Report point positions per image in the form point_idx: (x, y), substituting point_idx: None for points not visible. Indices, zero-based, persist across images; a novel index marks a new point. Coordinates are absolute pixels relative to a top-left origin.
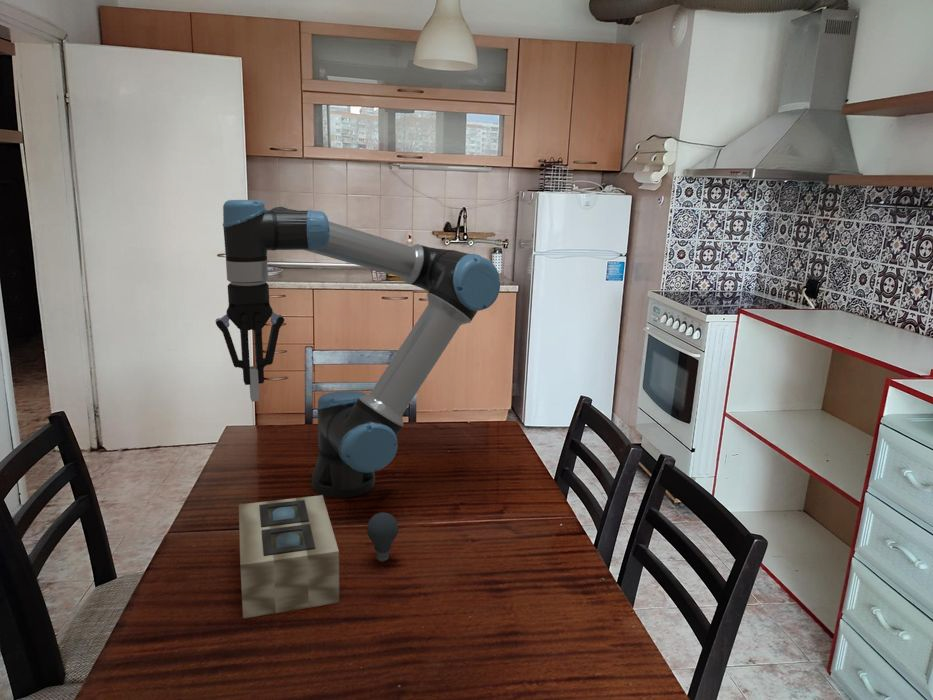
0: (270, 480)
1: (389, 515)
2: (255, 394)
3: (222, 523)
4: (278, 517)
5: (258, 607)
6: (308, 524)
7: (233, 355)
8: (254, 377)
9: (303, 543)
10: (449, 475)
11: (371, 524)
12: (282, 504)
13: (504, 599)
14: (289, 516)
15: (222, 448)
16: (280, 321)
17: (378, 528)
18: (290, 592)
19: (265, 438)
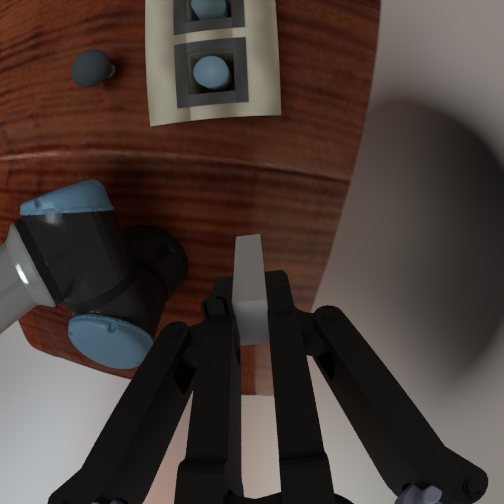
0: None
1: (74, 68)
2: (247, 246)
3: (298, 189)
4: (218, 57)
5: None
6: (175, 33)
7: (353, 347)
8: (248, 280)
9: (188, 16)
10: None
11: (98, 57)
12: (211, 97)
13: (37, 24)
14: (202, 58)
15: None
16: (65, 502)
17: (93, 51)
18: None
19: (246, 375)
